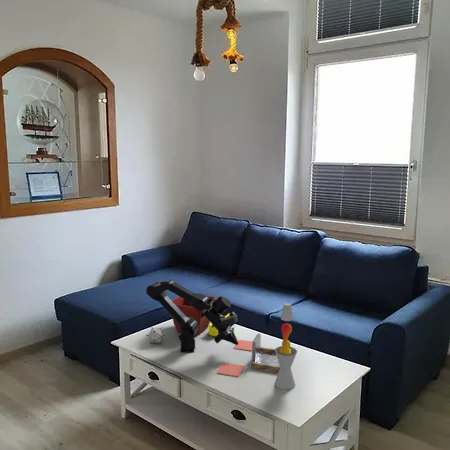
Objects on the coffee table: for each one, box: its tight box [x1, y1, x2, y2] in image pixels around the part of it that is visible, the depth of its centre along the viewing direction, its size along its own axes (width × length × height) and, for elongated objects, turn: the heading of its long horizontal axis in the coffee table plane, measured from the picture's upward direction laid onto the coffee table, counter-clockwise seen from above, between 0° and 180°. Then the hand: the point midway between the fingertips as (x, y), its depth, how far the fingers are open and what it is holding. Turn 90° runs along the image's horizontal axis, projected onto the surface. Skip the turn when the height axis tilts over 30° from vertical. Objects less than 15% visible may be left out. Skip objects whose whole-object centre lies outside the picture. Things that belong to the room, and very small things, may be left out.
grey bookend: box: [251, 332, 280, 366], centre depth 213 cm, size 12×10×11 cm
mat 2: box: [233, 339, 253, 352], centre depth 230 cm, size 10×10×1 cm
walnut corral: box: [250, 346, 280, 373], centre depth 213 cm, size 15×17×2 cm
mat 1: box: [215, 362, 245, 378], centre depth 206 cm, size 10×10×1 cm
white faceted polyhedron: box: [146, 326, 166, 345], centre depth 233 cm, size 9×8×10 cm
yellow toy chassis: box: [208, 313, 230, 337], centre depth 247 cm, size 16×6×8 cm, turn 154°
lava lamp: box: [274, 303, 298, 391], centre depth 191 cm, size 9×9×35 cm
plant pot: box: [171, 295, 217, 337], centre depth 248 cm, size 19×19×17 cm
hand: (237, 344), depth 217 cm, fingers closed
